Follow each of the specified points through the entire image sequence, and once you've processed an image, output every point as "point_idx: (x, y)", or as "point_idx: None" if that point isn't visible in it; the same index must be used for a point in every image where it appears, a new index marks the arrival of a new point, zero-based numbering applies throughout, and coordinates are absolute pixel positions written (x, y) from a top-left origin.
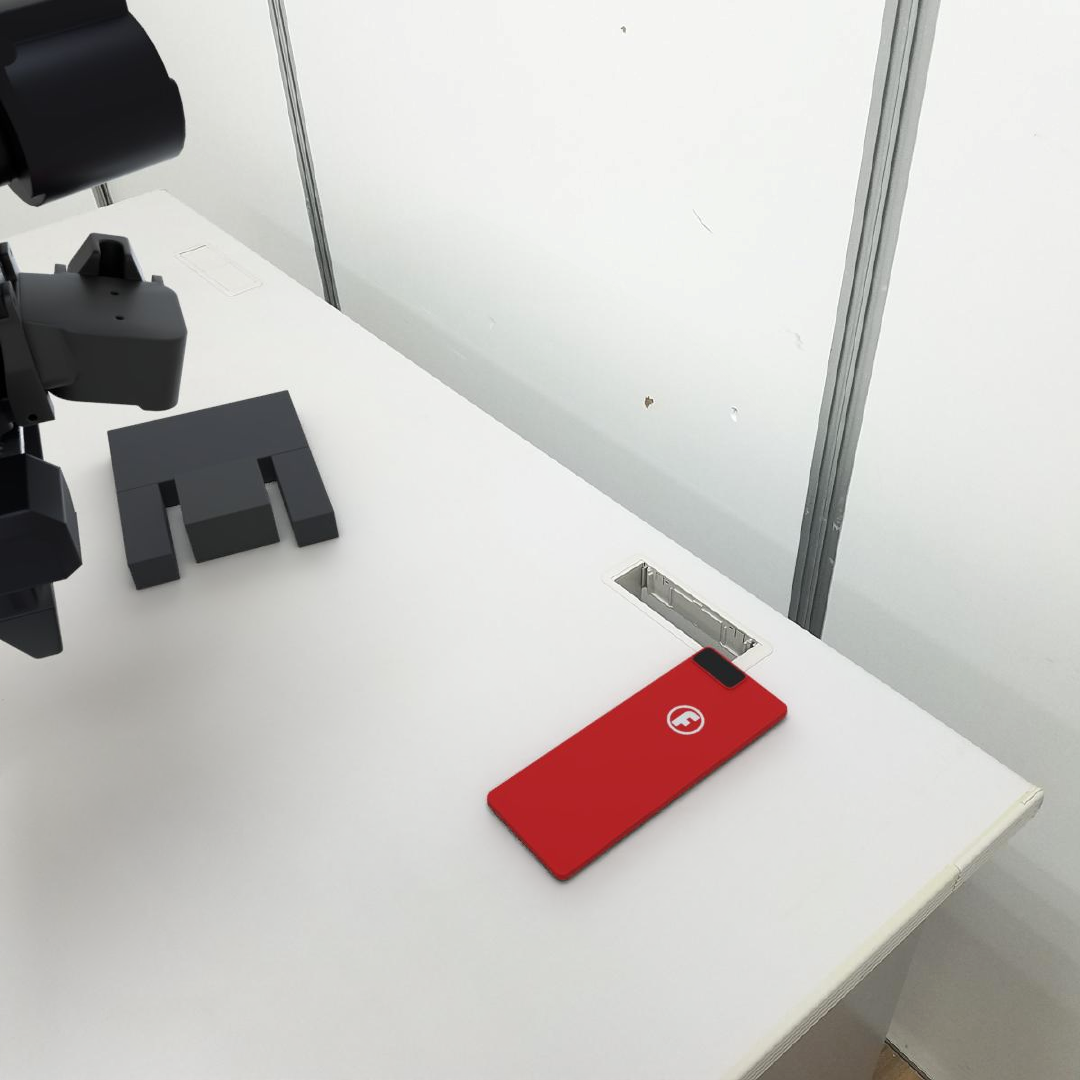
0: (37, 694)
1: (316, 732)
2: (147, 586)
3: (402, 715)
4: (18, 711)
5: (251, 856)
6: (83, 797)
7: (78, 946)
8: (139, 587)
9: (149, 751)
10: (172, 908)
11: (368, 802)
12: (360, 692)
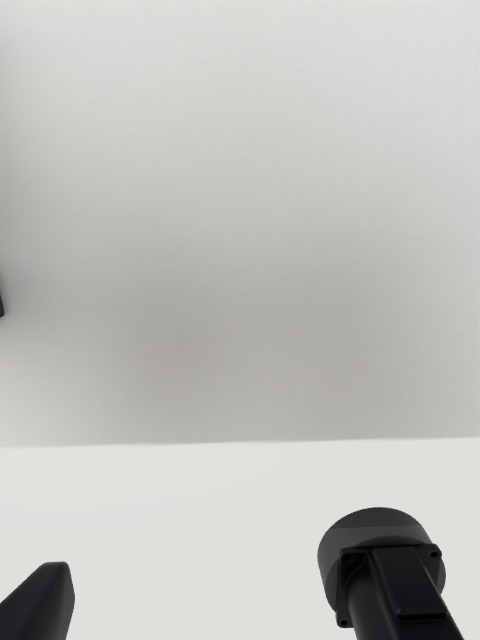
0: (149, 420)
1: (315, 128)
2: (1, 302)
3: (333, 2)
4: (168, 436)
5: (448, 231)
6: (303, 381)
7: (462, 388)
8: (2, 312)
9: (269, 318)
10: (466, 311)
11: (443, 86)
12: (273, 53)
